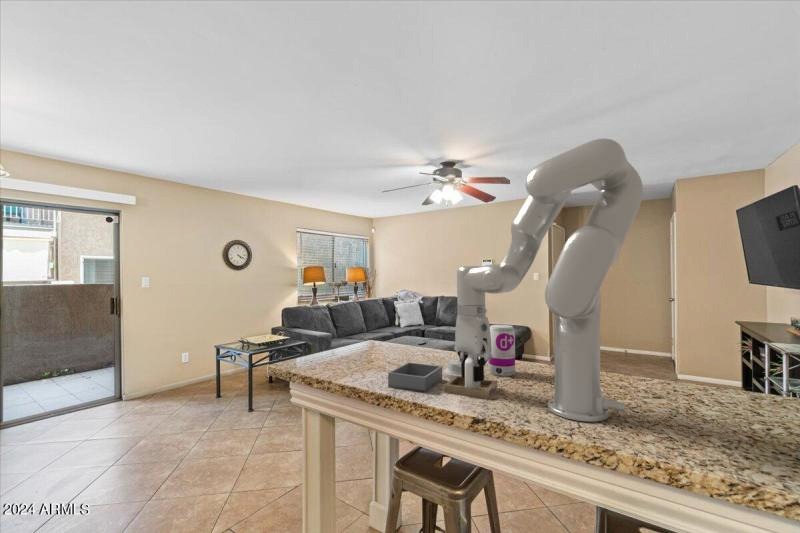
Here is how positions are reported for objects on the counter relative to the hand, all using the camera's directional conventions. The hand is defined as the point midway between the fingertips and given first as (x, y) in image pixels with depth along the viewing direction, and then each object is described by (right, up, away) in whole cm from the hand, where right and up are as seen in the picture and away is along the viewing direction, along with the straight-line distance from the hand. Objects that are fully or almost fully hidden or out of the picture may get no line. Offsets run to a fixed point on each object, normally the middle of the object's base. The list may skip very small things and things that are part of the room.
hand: (472, 378), depth 99 cm
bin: (-15, -4, +6) cm, 17 cm away
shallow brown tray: (0, -3, 0) cm, 3 cm away
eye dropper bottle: (0, -3, 0) cm, 3 cm away
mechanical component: (-1, -4, +15) cm, 16 cm away
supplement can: (+13, -4, +17) cm, 22 cm away
